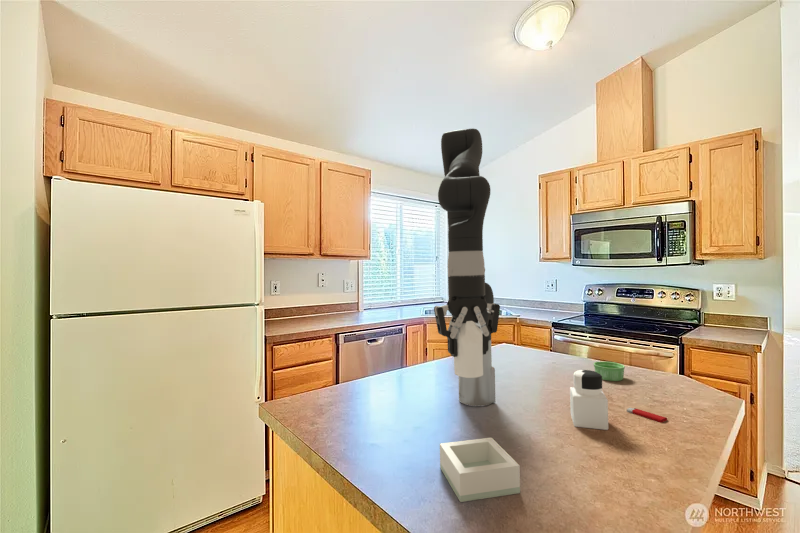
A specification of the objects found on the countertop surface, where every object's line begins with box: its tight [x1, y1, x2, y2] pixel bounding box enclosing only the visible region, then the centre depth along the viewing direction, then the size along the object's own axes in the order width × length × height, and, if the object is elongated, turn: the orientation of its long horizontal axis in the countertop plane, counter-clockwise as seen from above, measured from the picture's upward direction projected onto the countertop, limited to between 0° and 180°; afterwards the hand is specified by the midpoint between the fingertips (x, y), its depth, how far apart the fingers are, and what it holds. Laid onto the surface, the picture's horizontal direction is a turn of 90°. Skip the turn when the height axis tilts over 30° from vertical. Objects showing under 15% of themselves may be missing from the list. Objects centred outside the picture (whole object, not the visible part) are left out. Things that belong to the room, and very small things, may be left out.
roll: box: [453, 321, 483, 378], centre depth 76 cm, size 6×12×6 cm
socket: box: [439, 437, 521, 503], centre depth 65 cm, size 10×10×4 cm
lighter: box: [626, 407, 668, 424], centre depth 90 cm, size 3×1×8 cm
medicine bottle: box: [569, 369, 609, 431], centre depth 87 cm, size 7×7×12 cm
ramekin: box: [593, 360, 625, 382], centre depth 122 cm, size 9×9×4 cm
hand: (468, 354), depth 76 cm, fingers closed on roll, 5 cm apart
